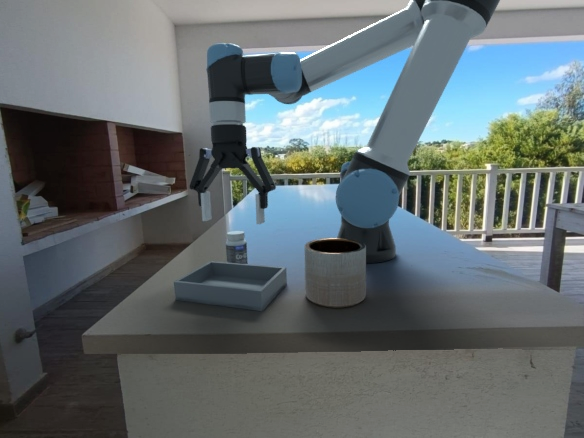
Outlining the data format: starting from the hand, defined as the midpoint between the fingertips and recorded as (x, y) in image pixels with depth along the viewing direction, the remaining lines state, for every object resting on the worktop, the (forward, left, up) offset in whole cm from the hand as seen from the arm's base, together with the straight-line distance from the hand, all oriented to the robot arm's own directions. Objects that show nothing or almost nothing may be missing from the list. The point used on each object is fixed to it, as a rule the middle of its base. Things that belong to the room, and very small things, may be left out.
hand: (233, 221), depth 76 cm
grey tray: (-6, +13, -11) cm, 18 cm away
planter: (-25, +10, -11) cm, 29 cm away
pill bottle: (0, 0, -11) cm, 11 cm away
